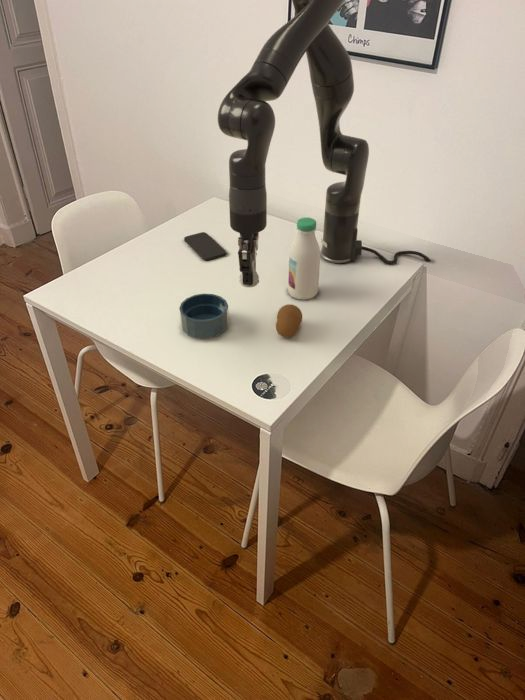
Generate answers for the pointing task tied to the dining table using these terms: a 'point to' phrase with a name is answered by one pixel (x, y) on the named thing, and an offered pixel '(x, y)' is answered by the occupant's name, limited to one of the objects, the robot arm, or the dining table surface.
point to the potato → (288, 320)
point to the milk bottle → (304, 261)
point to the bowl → (204, 315)
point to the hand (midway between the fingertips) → (249, 277)
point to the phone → (204, 246)
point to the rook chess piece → (255, 277)
